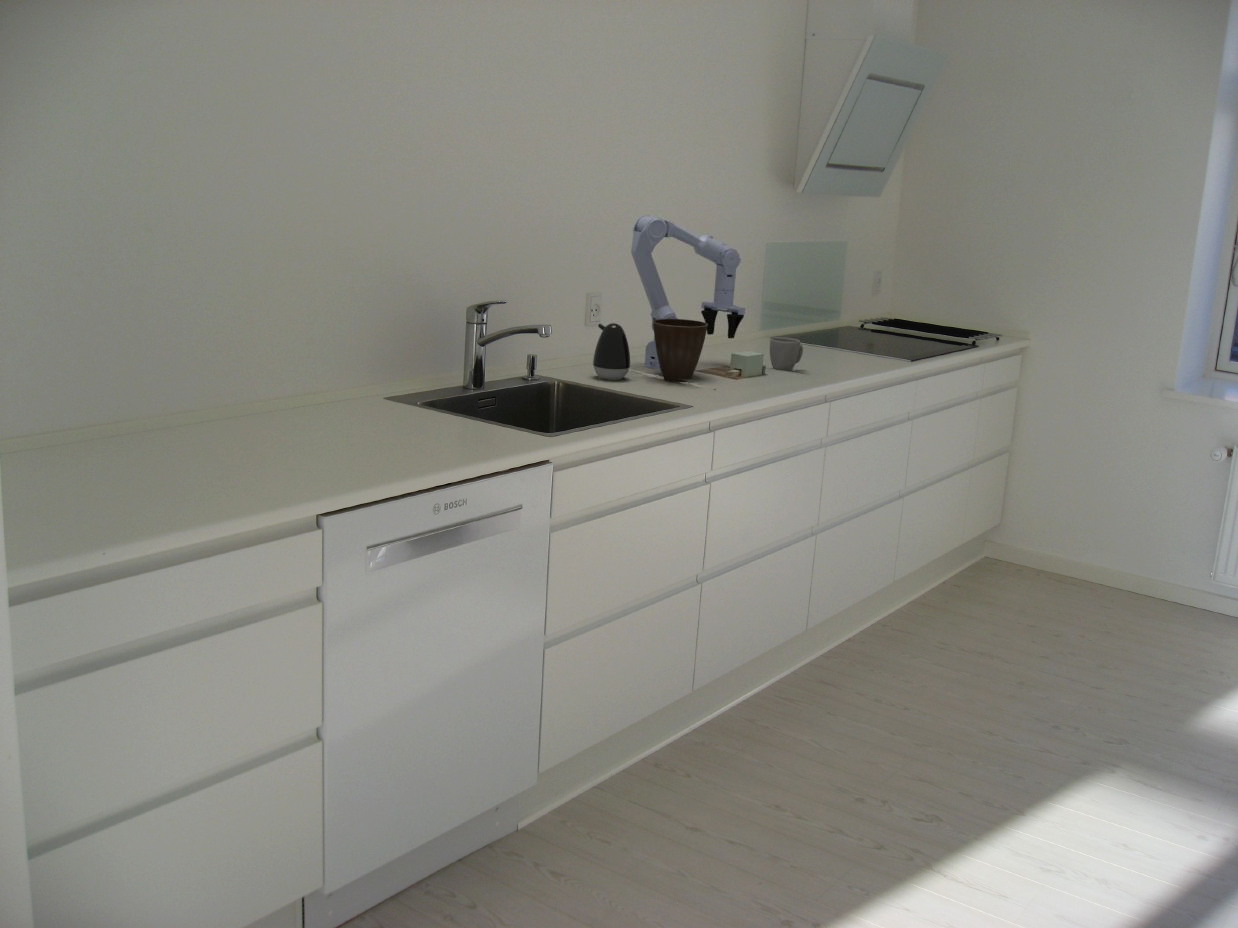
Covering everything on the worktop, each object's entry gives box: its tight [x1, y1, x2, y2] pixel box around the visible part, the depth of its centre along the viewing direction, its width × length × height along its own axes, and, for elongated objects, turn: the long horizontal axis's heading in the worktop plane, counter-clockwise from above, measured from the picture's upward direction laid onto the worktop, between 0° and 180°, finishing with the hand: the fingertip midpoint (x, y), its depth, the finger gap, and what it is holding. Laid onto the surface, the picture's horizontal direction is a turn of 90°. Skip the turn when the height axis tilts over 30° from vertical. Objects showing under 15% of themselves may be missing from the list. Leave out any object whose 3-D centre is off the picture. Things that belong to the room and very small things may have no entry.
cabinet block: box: [729, 350, 765, 378], centre depth 319 cm, size 8×6×6 cm
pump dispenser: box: [592, 322, 631, 381], centre depth 305 cm, size 10×10×15 cm
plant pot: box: [653, 318, 708, 383], centre depth 309 cm, size 15×15×16 cm
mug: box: [769, 336, 804, 373], centre depth 334 cm, size 12×9×10 cm
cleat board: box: [695, 364, 768, 380], centre depth 321 cm, size 15×15×4 cm
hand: (720, 336), depth 328 cm, fingers open, 7 cm apart
